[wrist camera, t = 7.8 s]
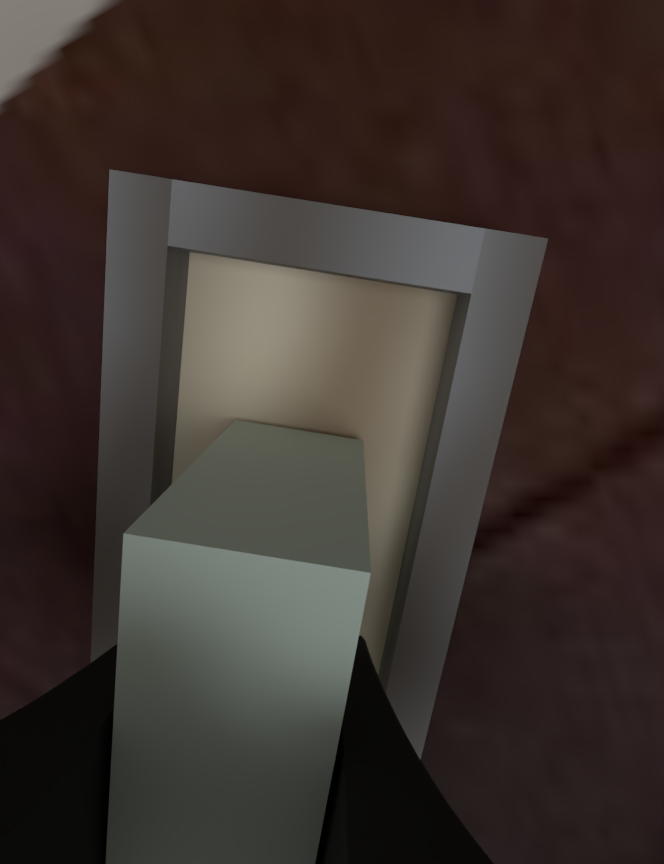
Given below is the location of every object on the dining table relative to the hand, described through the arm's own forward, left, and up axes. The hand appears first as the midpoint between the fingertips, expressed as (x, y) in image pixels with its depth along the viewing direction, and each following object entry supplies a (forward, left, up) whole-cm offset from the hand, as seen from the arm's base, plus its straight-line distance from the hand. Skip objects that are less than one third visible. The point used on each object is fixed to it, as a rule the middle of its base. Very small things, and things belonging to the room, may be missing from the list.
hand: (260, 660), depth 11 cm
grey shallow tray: (0, 0, -3) cm, 3 cm away
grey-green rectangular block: (0, 0, -2) cm, 2 cm away
